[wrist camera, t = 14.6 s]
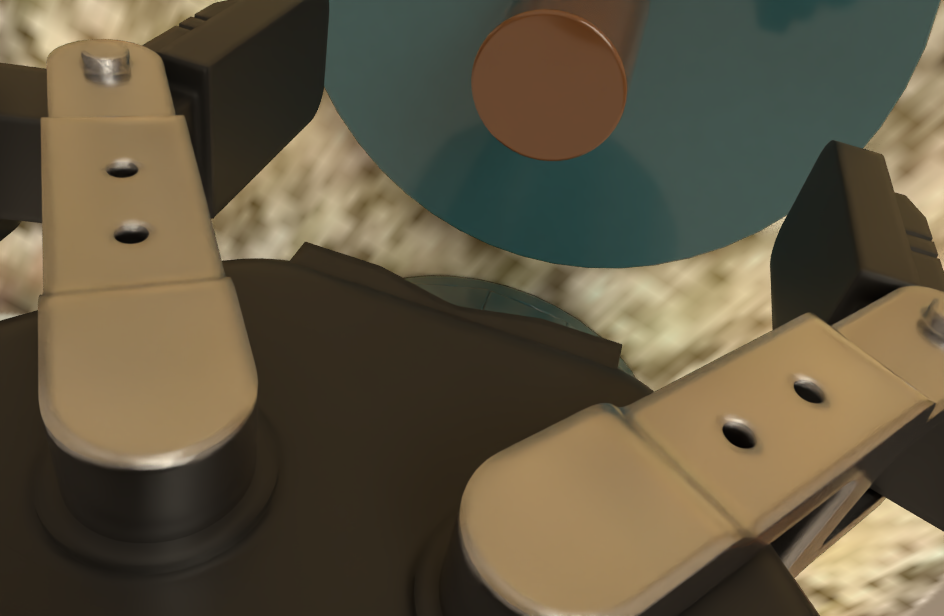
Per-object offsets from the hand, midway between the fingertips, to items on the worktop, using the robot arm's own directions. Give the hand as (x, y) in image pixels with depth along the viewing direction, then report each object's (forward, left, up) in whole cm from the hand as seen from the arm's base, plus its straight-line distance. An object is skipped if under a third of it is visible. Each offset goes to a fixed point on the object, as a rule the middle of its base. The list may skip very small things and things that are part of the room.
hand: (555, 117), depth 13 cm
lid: (0, 0, -6) cm, 6 cm away
